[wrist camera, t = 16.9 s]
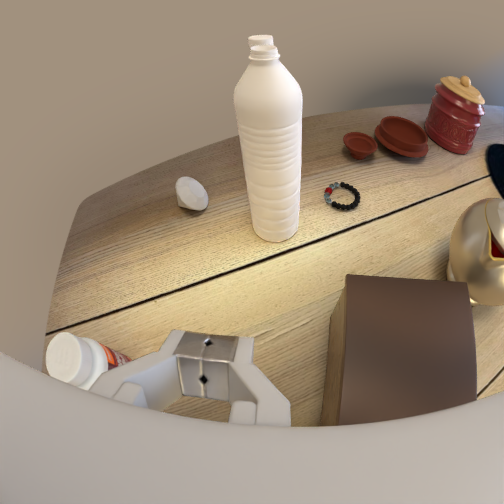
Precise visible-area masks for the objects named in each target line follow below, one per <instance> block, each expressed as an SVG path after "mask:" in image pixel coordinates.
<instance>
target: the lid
mask: <svg viewBox="0 0 504 504" xmlns="http://www.w3.org/2000/svg"><path fill="white" fill-rule="evenodd" d="M476 400H477V363H476V345H475V334H474V324H473V316H472V309H471V302H470V296H469V290H468V285H467V282H456V281H440V280H424V279H408V278H394V277H379V276H365V275H352V274H347V275H346V277H345V318H344V342H343V359H342V372H341V384H340V394H339V404H338V412H337V420H336V426H340V425H354V424H364V423H373V422H381V421H388V420H395V419H401V418H407V417H412V416H418V415H423V414H427V413H432V412H436V411H440V410H444V409H448V408H452V407H456V406H459V405H463V404H466V403H469V402H473V401H476Z"/></svg>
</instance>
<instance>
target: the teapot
mask: <svg viewBox="0 0 504 504" xmlns="http://www.w3.org/2000/svg"><path fill="white" fill-rule="evenodd" d="M449 256H450V259H449V261H448V264H447V269H446V274H447V280H448V281H456V282H467V285H468V290H469V296H470V302H471V306H478V305H481V304H483V305H487V306H499V305H504V199H500V198H487V199H483V200H480V201H477V202H476V203H474V204H472V205H471V206H469V207H468V208H467V209H466V210H465V211H464V212H463V213H462V215H461V216H460V217H459V219H458V221H457V222H456V224H455V227H454V229H453V232H452V235H451V240H450V247H449Z"/></svg>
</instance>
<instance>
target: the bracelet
mask: <svg viewBox="0 0 504 504" xmlns="http://www.w3.org/2000/svg"><path fill="white" fill-rule="evenodd" d="M339 186H341V187H345V188H346V189H349V190H350V191H352V193H354V195H355V201H354V202H353V203H351V204H350V205H344V204H342V205H341V204H339V203H338V204H337V203H336V201H333V202H332V200H331V199H330V194H331V193H332V189H334V187H336V188H338V187H339ZM359 195H360V194H359V192H358V191H357V189H356V188H353V186H351V185H350V186H349V184H345V183H344V182H341V183H340V184H339V183H336V182H335V183H334V185H333V184H331V185H329V187H328V188H326V190H325V195H324V198H325V199H326V203H328V204H332V206H333V207H336V208H337V209H340V208H341V209H342V210H345V209H346V210H350V209H354V208H355V207H356V206H358V203H360V196H359Z"/></svg>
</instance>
